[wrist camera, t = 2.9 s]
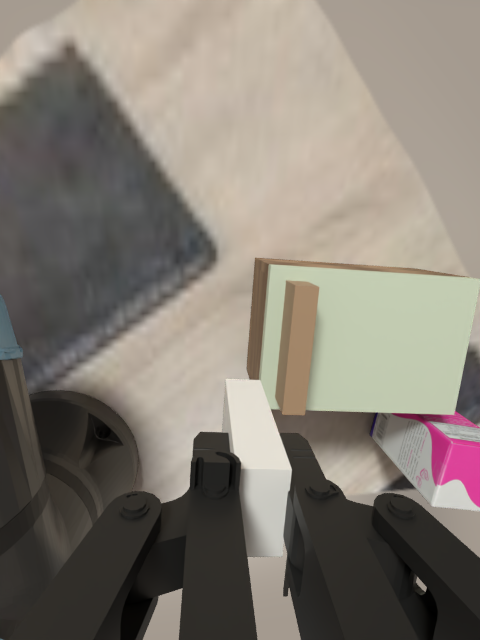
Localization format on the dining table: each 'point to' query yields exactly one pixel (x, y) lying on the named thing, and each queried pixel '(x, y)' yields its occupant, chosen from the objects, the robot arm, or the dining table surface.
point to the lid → (364, 340)
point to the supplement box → (434, 455)
